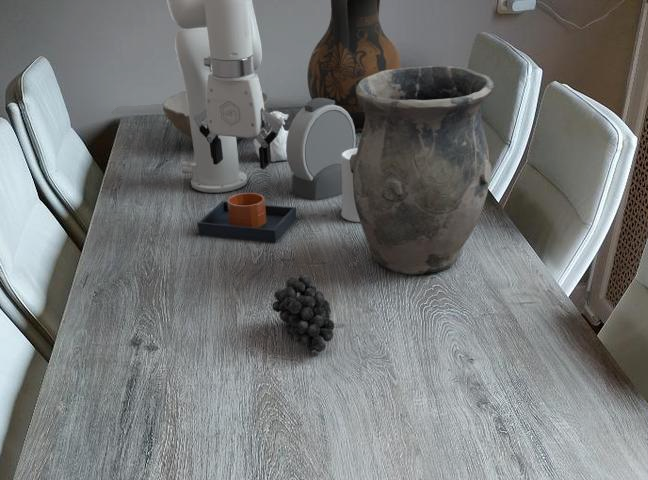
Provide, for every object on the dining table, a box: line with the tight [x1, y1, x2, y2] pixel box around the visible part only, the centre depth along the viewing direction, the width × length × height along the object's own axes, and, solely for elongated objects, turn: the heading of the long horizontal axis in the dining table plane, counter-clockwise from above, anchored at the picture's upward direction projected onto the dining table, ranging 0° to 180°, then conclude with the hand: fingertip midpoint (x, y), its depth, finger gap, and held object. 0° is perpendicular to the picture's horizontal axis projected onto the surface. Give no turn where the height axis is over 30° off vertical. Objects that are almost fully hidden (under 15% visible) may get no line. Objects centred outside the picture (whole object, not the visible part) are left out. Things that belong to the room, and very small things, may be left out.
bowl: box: [162, 90, 269, 142], centre depth 201 cm, size 26×26×10 cm
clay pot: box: [350, 65, 495, 276], centre depth 136 cm, size 22×23×30 cm
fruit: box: [271, 274, 335, 353], centre depth 121 cm, size 9×8×15 cm
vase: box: [306, 0, 402, 133], centre depth 201 cm, size 24×24×35 cm
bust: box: [252, 110, 289, 163], centre depth 190 cm, size 12×8×11 cm
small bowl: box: [226, 192, 266, 228], centre depth 157 cm, size 7×7×5 cm
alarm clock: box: [286, 98, 357, 201], centre depth 169 cm, size 16×10×18 cm, turn 134°
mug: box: [340, 147, 361, 223], centre depth 159 cm, size 12×8×12 cm
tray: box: [197, 200, 297, 243], centre depth 159 cm, size 16×12×2 cm
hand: (241, 164), depth 152 cm, fingers open, 9 cm apart
